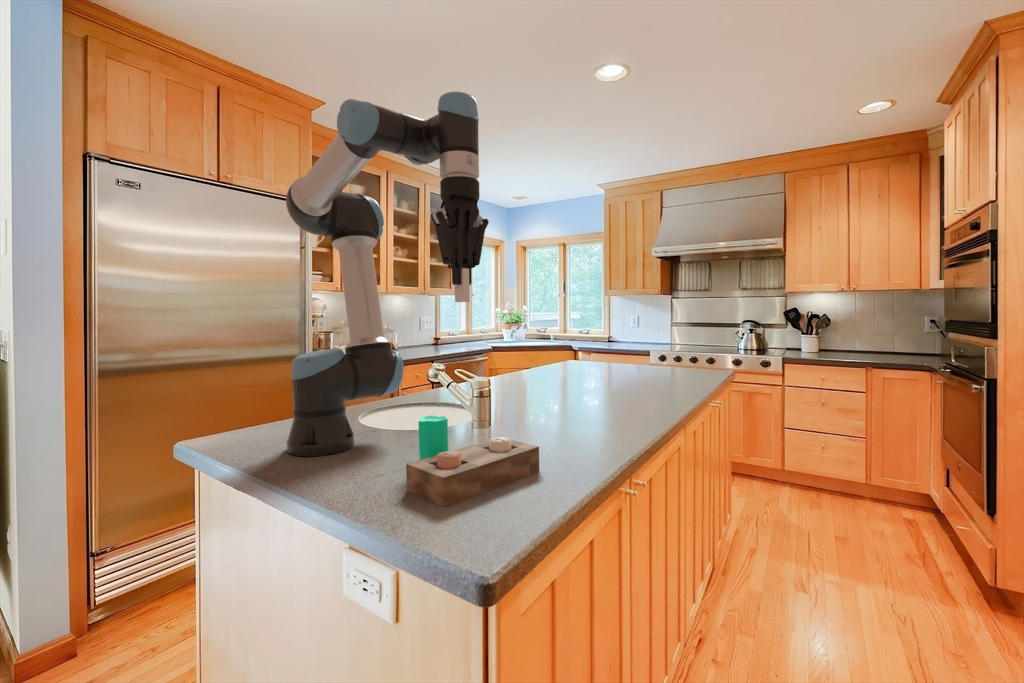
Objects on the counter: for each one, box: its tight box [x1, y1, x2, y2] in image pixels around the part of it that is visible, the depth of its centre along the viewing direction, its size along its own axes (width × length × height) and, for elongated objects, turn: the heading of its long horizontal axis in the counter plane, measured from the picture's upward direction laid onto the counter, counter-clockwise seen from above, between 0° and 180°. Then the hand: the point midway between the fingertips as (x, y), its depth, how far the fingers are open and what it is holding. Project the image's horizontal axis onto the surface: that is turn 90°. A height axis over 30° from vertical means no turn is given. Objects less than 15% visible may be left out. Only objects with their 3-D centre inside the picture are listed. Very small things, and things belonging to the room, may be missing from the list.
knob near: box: [437, 450, 461, 470], centre depth 88 cm, size 4×4×6 cm
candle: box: [417, 415, 449, 460], centre depth 100 cm, size 6×6×12 cm
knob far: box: [488, 436, 512, 453], centre depth 97 cm, size 4×4×6 cm
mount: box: [405, 439, 540, 508], centre depth 93 cm, size 11×24×5 cm, turn 136°
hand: (462, 301), depth 95 cm, fingers closed
